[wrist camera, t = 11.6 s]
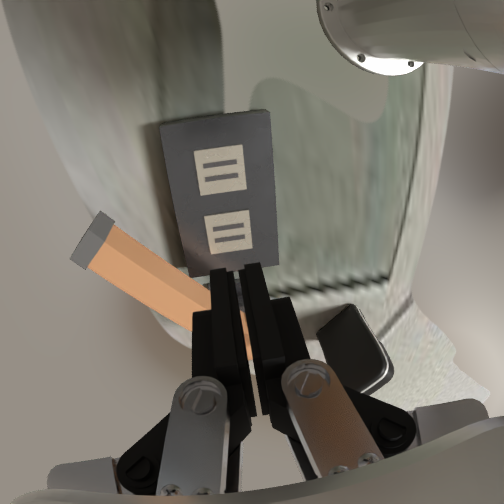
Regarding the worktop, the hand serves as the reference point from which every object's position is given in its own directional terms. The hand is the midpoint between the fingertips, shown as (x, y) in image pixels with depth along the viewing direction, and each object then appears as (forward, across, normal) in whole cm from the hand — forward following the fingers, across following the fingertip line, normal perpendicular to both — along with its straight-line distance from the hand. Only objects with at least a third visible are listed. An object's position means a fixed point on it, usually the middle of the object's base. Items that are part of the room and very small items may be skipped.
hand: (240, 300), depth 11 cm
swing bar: (+15, +5, +11) cm, 20 cm away
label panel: (+20, 0, +4) cm, 20 cm away
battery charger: (+20, -12, +24) cm, 34 cm away
